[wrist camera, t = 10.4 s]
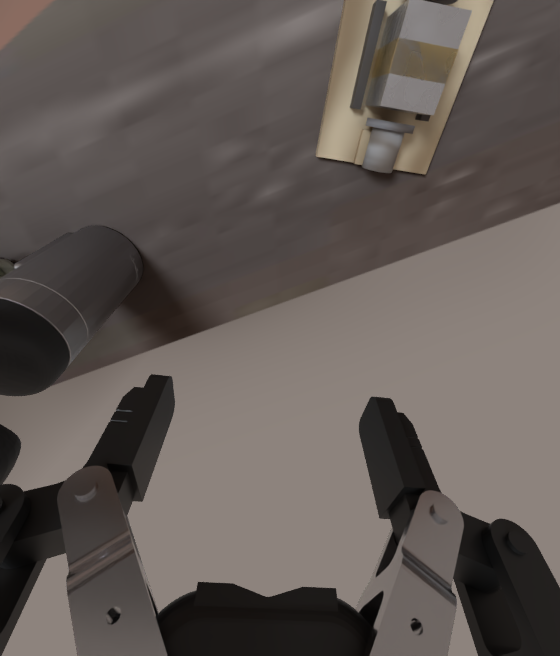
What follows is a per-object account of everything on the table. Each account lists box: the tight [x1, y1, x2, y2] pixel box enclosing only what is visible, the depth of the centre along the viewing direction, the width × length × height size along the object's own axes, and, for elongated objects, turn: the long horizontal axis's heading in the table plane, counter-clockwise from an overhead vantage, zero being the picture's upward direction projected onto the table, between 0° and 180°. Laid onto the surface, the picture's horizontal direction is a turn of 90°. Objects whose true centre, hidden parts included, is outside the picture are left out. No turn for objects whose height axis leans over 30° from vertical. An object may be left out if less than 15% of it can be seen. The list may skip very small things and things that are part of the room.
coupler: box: [365, 0, 472, 115], centre depth 25 cm, size 6×5×6 cm
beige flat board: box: [316, 0, 494, 175], centre depth 26 cm, size 12×16×6 cm
